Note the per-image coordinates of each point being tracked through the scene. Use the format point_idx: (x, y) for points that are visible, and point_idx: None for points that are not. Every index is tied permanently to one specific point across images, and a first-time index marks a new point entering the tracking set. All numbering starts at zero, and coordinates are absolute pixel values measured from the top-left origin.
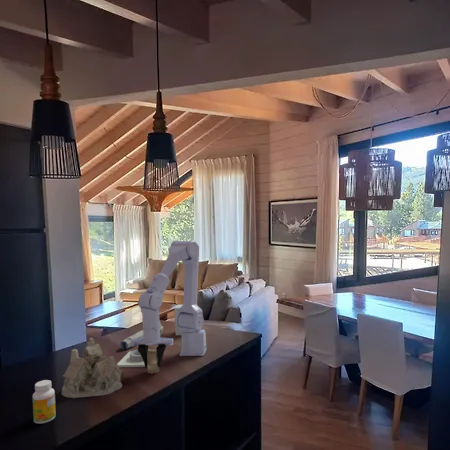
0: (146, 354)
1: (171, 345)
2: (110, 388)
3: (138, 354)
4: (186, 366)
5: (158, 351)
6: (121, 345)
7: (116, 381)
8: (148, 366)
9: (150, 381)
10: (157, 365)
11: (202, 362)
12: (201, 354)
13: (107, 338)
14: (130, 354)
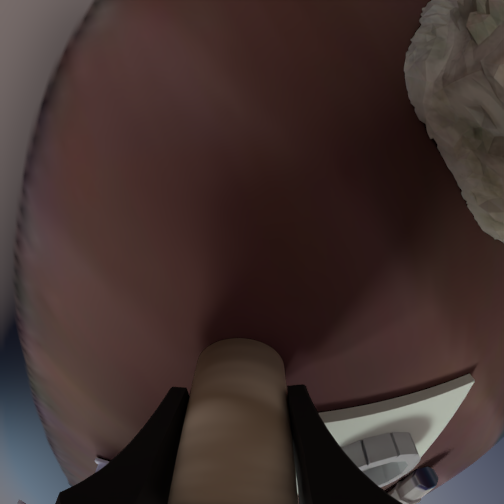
0: (302, 486)
1: (20, 502)
2: (448, 9)
3: (376, 469)
4: (86, 403)
5: (111, 502)
6: (433, 475)
7: (461, 54)
8: (267, 385)
9: (182, 195)
10: (190, 398)
11: (59, 417)
12: (100, 462)
13: (451, 475)
14: (417, 457)
